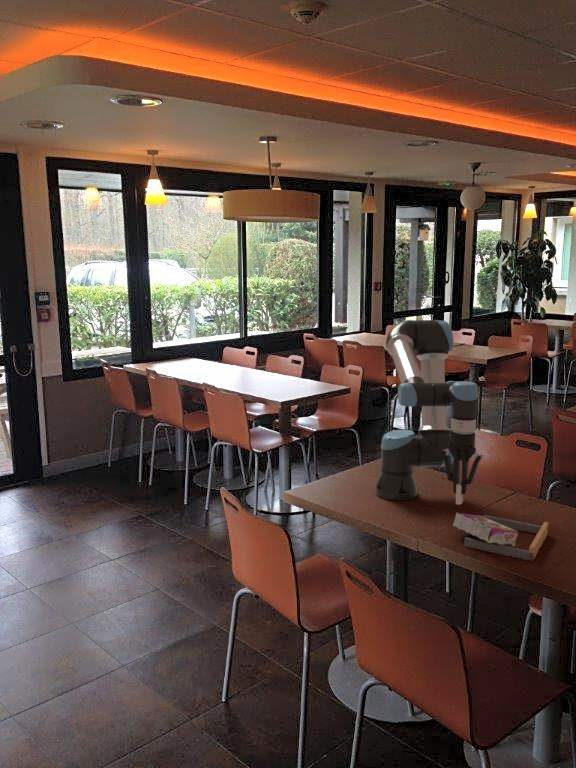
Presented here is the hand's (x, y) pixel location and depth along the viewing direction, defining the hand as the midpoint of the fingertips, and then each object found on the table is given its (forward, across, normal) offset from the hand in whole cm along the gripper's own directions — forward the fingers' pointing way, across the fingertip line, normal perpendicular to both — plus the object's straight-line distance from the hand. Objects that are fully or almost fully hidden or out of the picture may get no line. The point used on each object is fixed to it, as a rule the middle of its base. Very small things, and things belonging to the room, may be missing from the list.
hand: (459, 503), depth 217 cm
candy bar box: (+5, +3, 0) cm, 6 cm away
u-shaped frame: (+9, +15, 0) cm, 18 cm away
